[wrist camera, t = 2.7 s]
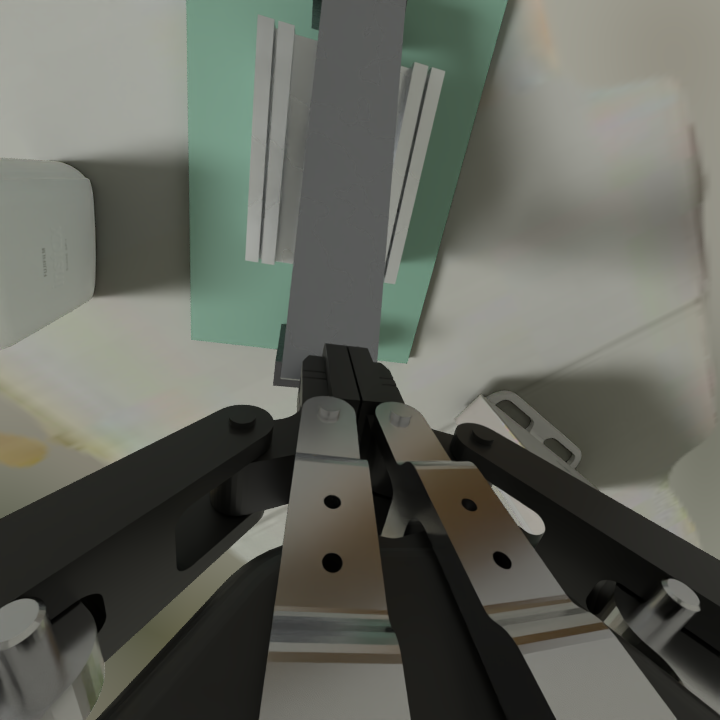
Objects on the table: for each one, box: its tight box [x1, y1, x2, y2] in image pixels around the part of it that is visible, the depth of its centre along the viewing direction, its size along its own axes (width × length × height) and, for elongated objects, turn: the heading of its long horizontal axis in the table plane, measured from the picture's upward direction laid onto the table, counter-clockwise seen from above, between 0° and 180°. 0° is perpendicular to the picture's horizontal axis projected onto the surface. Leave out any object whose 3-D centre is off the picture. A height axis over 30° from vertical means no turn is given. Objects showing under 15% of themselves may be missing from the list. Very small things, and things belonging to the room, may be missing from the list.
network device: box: [455, 391, 599, 535], centre depth 35 cm, size 26×9×20 cm, turn 49°
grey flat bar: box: [281, 0, 407, 381], centre depth 16 cm, size 21×4×1 cm
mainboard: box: [186, 0, 508, 364], centre depth 28 cm, size 28×20×1 cm
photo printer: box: [0, 158, 96, 350], centre depth 22 cm, size 10×4×12 cm, turn 163°
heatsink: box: [245, 0, 445, 388], centre depth 24 cm, size 24×10×7 cm, turn 169°
